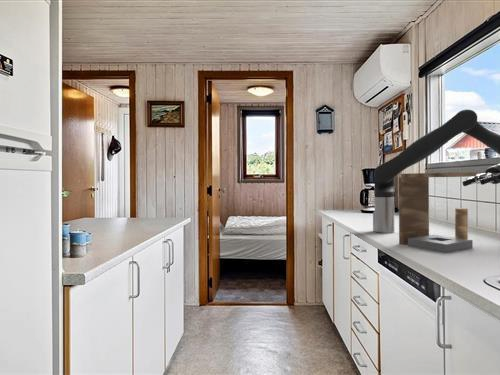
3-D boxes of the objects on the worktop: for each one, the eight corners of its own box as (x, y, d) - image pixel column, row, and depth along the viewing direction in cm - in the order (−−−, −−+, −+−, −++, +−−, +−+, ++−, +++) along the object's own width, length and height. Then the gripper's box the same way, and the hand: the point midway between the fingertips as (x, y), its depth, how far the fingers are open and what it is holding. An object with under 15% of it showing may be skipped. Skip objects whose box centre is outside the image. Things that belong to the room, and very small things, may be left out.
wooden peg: (452, 243, 153) (452, 208, 153) (459, 242, 156) (459, 208, 155) (463, 244, 150) (463, 209, 149) (470, 243, 152) (470, 208, 151)
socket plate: (408, 245, 149) (408, 238, 149) (433, 241, 157) (433, 234, 157) (446, 252, 135) (446, 244, 135) (472, 247, 143) (472, 240, 143)
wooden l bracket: (399, 243, 154) (398, 173, 153) (424, 240, 162) (424, 173, 161) (450, 252, 135) (450, 172, 134) (476, 248, 142) (476, 172, 142)
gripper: (483, 166, 166) (455, 176, 161) (514, 162, 153) (485, 172, 148) (487, 182, 166) (460, 192, 162) (519, 180, 153) (490, 190, 148)
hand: (472, 183), depth 155 cm, fingers open, 8 cm apart
